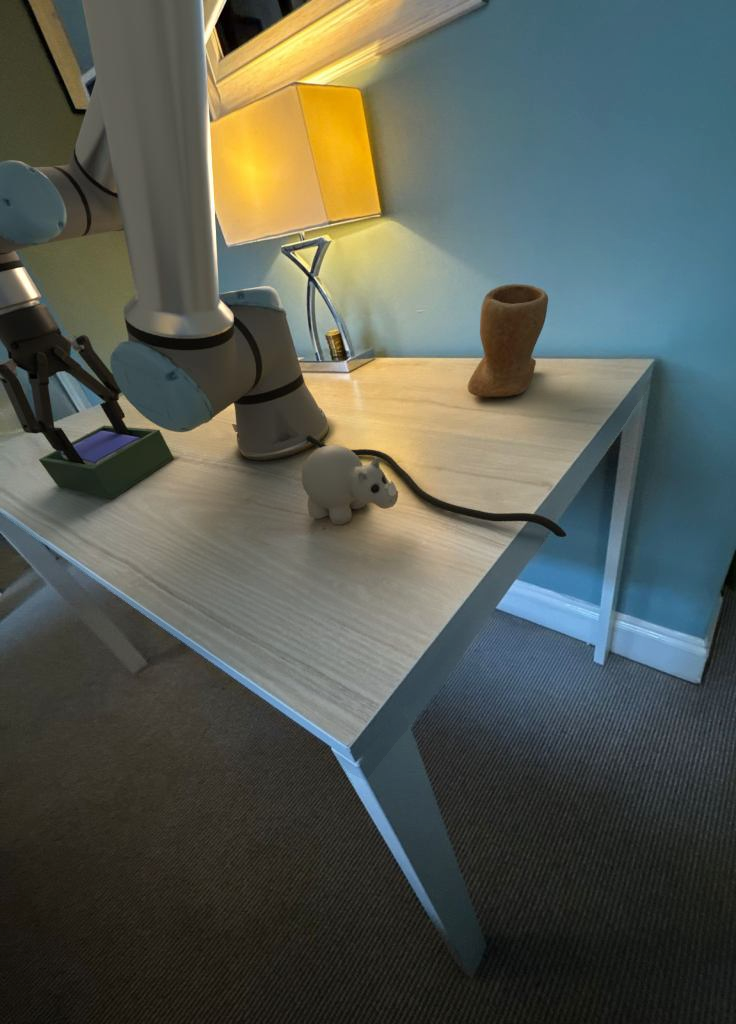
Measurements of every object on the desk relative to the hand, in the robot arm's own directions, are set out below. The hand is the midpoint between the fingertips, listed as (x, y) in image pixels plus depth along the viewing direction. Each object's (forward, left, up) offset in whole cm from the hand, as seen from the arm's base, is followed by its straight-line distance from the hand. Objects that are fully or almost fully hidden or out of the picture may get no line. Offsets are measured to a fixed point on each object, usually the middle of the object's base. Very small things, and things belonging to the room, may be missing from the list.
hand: (103, 450), depth 74 cm
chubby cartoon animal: (-50, 0, -5) cm, 50 cm away
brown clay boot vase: (-57, -39, -5) cm, 69 cm away
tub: (0, 0, -4) cm, 4 cm away
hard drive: (0, 0, 0) cm, 0 cm away
